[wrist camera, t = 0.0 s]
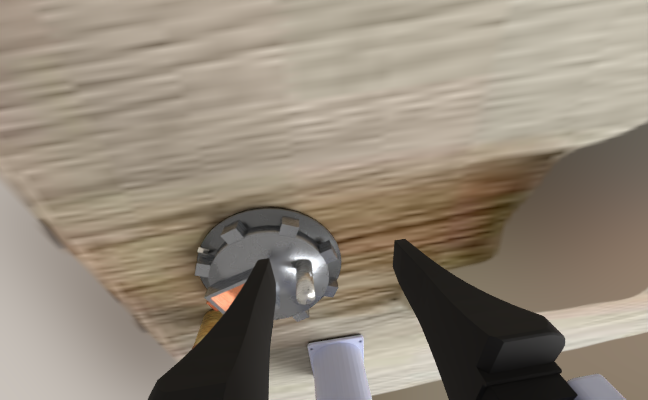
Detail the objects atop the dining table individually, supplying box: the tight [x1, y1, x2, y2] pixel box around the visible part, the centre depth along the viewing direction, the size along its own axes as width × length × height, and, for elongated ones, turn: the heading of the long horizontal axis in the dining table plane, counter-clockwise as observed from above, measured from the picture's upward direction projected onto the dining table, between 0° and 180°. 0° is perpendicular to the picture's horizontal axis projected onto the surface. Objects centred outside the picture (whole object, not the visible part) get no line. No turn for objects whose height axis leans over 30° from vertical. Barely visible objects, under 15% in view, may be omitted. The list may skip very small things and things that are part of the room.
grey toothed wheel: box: [195, 216, 338, 322], centre depth 24 cm, size 14×14×6 cm
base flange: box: [197, 208, 341, 298], centre depth 26 cm, size 15×15×1 cm
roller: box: [192, 310, 223, 349], centre depth 27 cm, size 3×3×5 cm
